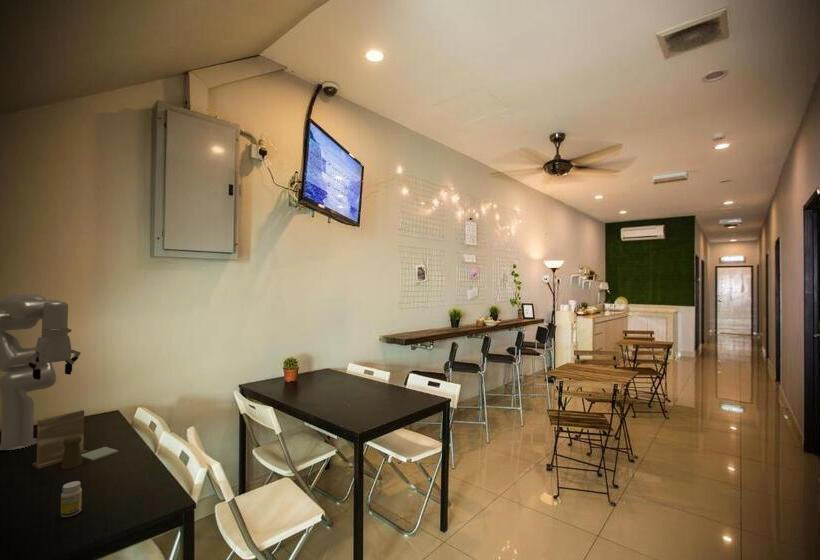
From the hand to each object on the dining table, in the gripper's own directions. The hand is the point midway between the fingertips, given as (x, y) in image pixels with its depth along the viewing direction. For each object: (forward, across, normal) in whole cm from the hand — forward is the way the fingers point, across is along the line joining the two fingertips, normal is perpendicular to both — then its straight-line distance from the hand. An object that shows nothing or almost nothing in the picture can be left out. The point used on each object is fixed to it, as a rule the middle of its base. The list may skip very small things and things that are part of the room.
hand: (52, 376), depth 153 cm
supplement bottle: (+30, +17, +53) cm, 63 cm away
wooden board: (+32, -1, +6) cm, 32 cm away
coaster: (+31, -10, +14) cm, 36 cm away
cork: (+32, 0, +16) cm, 35 cm away
